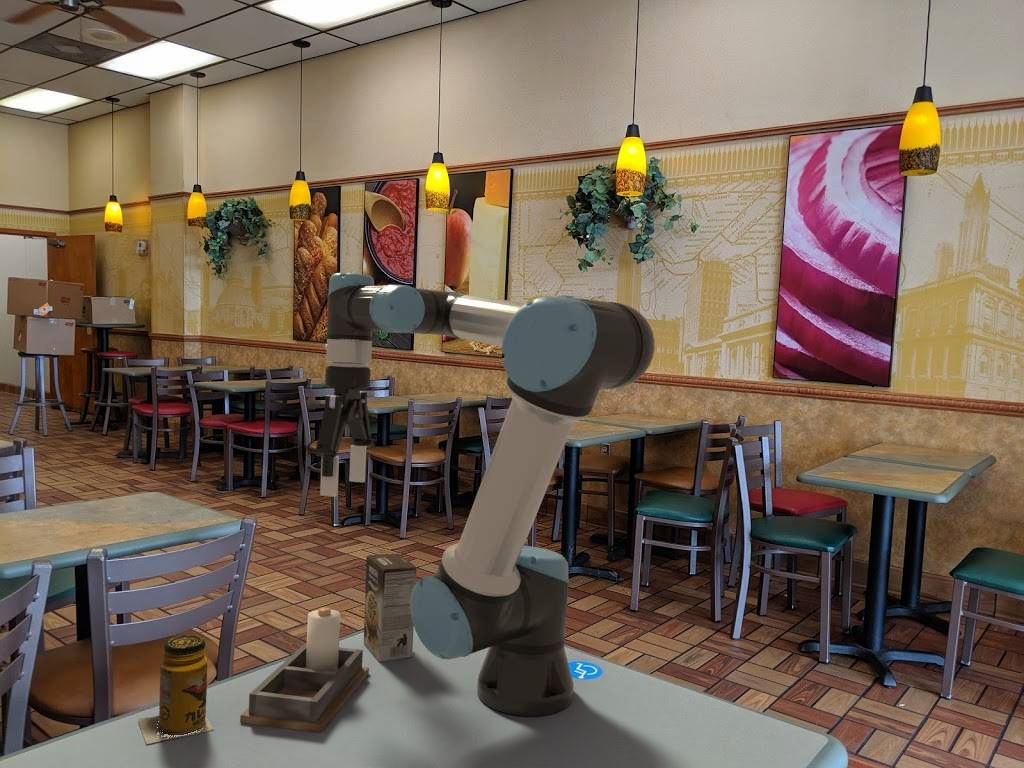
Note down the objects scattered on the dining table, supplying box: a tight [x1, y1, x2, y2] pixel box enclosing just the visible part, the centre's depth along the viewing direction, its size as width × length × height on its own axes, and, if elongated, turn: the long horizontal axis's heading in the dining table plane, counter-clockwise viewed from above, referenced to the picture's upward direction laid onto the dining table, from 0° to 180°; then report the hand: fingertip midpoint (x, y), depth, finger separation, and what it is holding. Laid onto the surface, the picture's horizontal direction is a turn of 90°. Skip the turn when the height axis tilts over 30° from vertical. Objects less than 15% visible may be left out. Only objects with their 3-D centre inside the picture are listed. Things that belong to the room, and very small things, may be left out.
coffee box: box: [363, 552, 418, 663], centre depth 138 cm, size 9×6×16 cm
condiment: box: [137, 634, 214, 745], centre depth 108 cm, size 7×8×12 cm
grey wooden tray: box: [239, 643, 370, 734], centre depth 119 cm, size 12×20×4 cm, turn 171°
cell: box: [306, 606, 342, 672], centre depth 124 cm, size 5×5×11 cm
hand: (343, 488), depth 135 cm, fingers open, 13 cm apart
